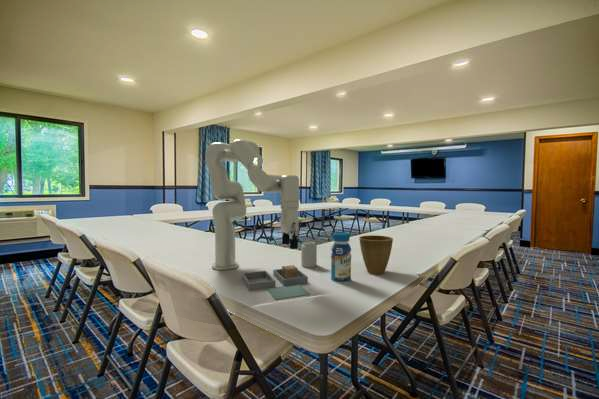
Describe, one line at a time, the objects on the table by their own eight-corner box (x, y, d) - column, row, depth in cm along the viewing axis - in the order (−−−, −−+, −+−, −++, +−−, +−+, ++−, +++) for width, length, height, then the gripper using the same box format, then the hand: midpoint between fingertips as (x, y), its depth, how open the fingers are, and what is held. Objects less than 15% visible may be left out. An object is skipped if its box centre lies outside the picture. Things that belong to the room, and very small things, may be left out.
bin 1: (242, 280, 118) (242, 273, 118) (265, 277, 122) (265, 270, 122) (249, 291, 105) (248, 284, 105) (275, 288, 109) (275, 280, 108)
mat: (266, 290, 106) (266, 288, 106) (299, 286, 111) (299, 284, 111) (275, 301, 96) (275, 299, 96) (310, 296, 101) (310, 293, 101)
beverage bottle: (339, 276, 123) (339, 230, 123) (355, 280, 117) (355, 233, 117) (326, 280, 118) (326, 233, 117) (342, 285, 112) (343, 235, 111)
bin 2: (273, 276, 123) (273, 269, 123) (295, 274, 127) (295, 267, 127) (283, 287, 110) (283, 279, 110) (307, 284, 113) (307, 276, 113)
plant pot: (394, 269, 134) (394, 236, 133) (390, 279, 120) (390, 241, 119) (362, 266, 140) (363, 234, 139) (355, 274, 126) (355, 238, 126)
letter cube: (282, 277, 120) (282, 266, 119) (293, 276, 121) (293, 264, 121) (286, 281, 115) (286, 269, 115) (297, 280, 117) (297, 267, 117)
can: (315, 269, 134) (315, 244, 133) (299, 268, 135) (300, 243, 135) (317, 265, 141) (317, 241, 141) (302, 264, 143) (302, 240, 142)
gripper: (275, 204, 124) (275, 243, 124) (288, 206, 107) (288, 251, 108) (291, 203, 126) (291, 241, 127) (306, 206, 110) (306, 249, 111)
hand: (289, 246), depth 118 cm, fingers open, 9 cm apart
